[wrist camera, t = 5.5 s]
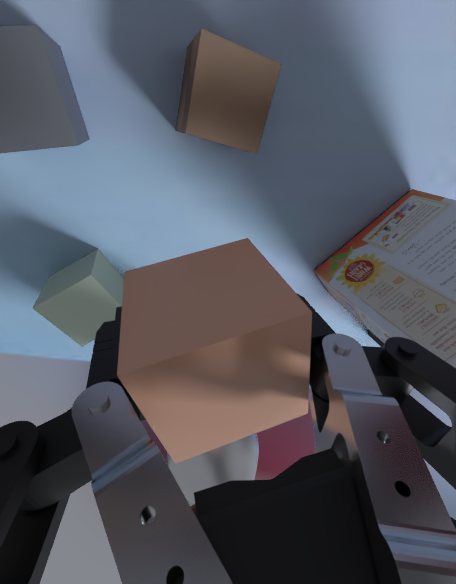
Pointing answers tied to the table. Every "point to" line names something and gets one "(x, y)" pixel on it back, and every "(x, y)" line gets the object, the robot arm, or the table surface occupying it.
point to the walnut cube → (225, 92)
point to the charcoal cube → (36, 93)
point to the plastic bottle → (217, 466)
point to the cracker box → (402, 274)
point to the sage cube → (82, 297)
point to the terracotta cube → (213, 347)
